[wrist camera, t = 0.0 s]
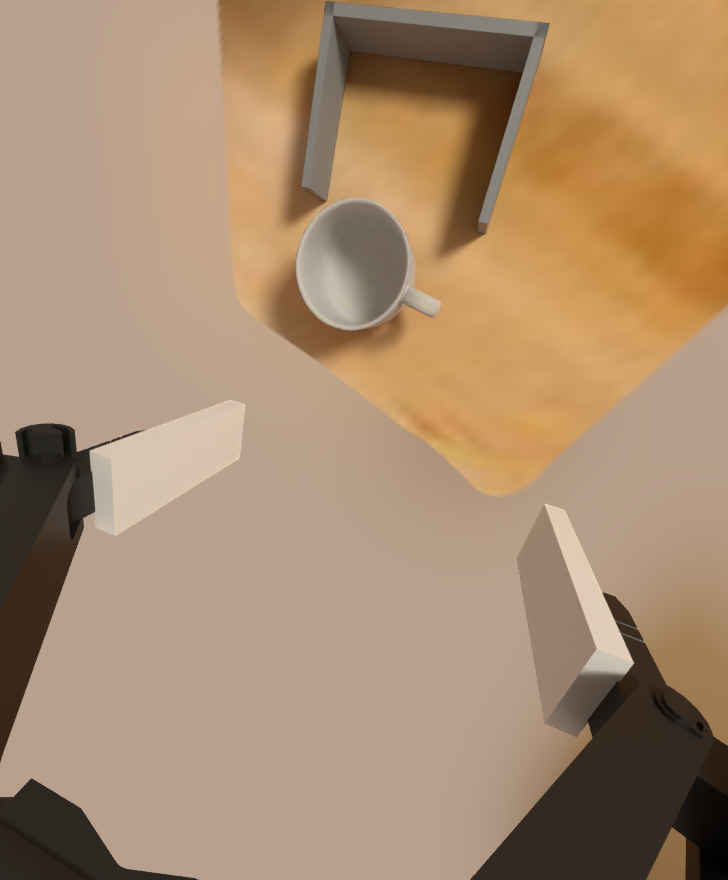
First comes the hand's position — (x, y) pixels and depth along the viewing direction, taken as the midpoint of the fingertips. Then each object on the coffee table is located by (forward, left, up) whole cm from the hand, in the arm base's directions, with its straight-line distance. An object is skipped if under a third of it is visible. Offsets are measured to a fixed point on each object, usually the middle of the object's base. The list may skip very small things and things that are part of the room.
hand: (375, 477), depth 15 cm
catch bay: (-20, -8, -28) cm, 36 cm away
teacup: (-8, -8, -28) cm, 30 cm away
